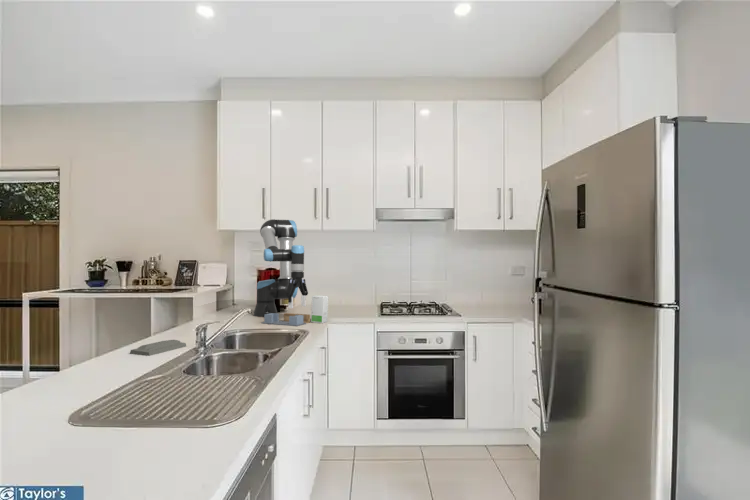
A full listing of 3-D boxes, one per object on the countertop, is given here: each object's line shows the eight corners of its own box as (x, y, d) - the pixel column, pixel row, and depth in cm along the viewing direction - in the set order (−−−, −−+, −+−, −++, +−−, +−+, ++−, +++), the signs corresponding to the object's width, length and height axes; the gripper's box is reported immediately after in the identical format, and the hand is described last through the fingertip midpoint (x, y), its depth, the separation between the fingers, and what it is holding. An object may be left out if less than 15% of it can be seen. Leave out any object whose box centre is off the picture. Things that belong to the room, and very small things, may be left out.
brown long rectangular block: (287, 321, 270) (287, 313, 270) (310, 323, 264) (310, 314, 264) (283, 322, 267) (283, 313, 267) (306, 323, 261) (307, 315, 261)
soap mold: (128, 355, 174) (129, 346, 174) (168, 346, 193) (168, 337, 193) (149, 357, 170) (149, 348, 171) (187, 347, 189) (187, 339, 189)
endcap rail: (271, 321, 267) (271, 312, 268) (306, 323, 258) (306, 315, 258) (261, 323, 258) (261, 314, 258) (296, 326, 249) (296, 317, 249)
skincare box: (310, 322, 265) (310, 296, 265) (316, 321, 271) (316, 295, 271) (323, 323, 261) (323, 296, 262) (328, 321, 268) (328, 295, 268)
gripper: (303, 271, 279) (303, 305, 278) (279, 271, 256) (279, 308, 255) (313, 271, 276) (313, 305, 275) (291, 271, 253) (290, 309, 252)
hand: (297, 307), depth 265 cm, fingers open, 13 cm apart
